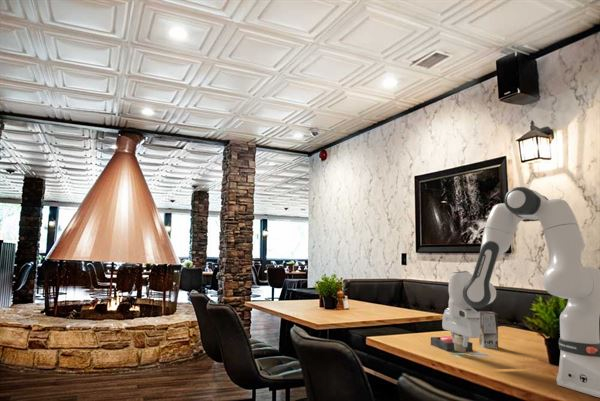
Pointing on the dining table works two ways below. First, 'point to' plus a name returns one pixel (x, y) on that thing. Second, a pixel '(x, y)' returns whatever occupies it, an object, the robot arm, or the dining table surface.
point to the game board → (450, 347)
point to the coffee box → (488, 329)
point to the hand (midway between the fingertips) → (460, 345)
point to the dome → (446, 339)
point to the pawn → (458, 343)
